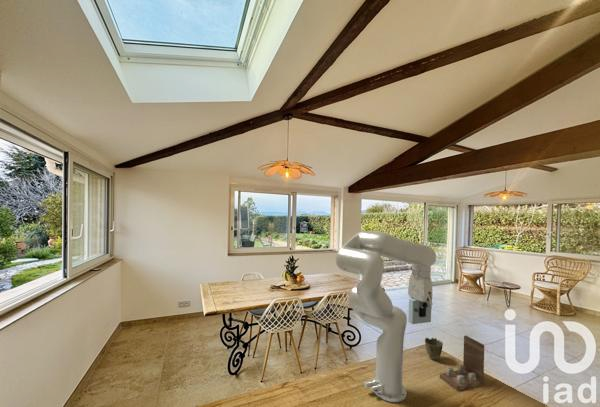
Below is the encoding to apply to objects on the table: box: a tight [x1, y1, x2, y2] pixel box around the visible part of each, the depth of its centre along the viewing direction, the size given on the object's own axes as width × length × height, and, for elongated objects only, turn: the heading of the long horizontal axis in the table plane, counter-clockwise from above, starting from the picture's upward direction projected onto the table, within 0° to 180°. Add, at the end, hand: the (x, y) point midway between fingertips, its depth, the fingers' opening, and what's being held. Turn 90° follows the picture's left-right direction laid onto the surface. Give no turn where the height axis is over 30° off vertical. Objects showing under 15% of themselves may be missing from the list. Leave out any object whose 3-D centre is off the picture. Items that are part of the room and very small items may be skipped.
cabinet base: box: [439, 335, 485, 391], centre depth 107 cm, size 14×8×16 cm, turn 108°
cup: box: [424, 337, 444, 361], centre depth 123 cm, size 8×7×8 cm
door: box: [407, 298, 433, 325], centre depth 116 cm, size 10×3×10 cm, turn 108°
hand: (419, 315), depth 117 cm, fingers closed on door, 2 cm apart
